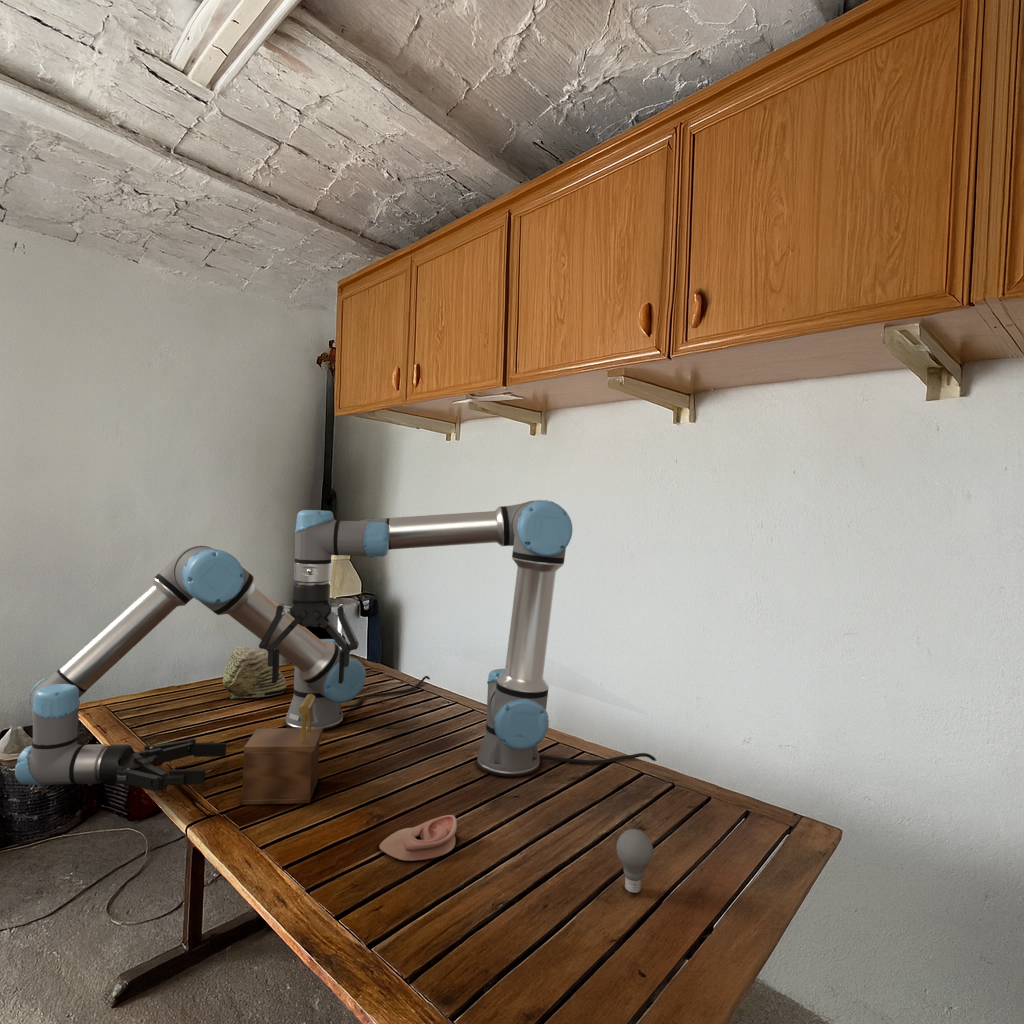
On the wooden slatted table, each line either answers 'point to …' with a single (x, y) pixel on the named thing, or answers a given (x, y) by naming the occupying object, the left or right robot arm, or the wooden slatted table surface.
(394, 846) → the anatomical model
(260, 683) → the fossil
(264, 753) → the chest
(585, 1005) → the wooden slatted table surface
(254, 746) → the lid
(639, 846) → the light bulb
